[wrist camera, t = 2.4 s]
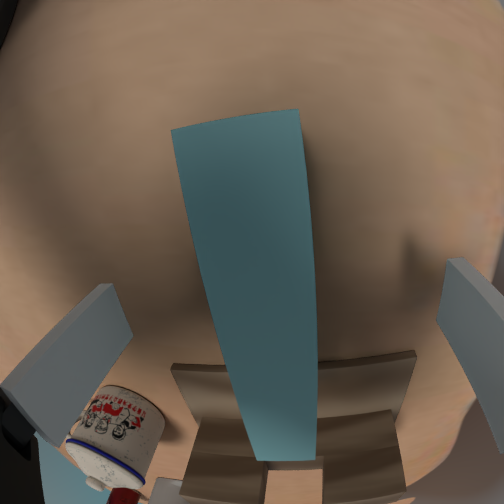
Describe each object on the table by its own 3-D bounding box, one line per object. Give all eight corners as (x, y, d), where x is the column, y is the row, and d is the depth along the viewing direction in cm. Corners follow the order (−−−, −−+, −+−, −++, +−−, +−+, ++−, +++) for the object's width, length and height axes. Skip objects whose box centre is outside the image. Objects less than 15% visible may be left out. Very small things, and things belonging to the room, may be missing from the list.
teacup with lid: (155, 392, 25) (112, 487, 15) (176, 436, 29) (149, 514, 18) (69, 369, 27) (20, 439, 16) (97, 414, 30) (63, 477, 20)
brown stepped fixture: (173, 363, 23) (130, 457, 14) (414, 350, 19) (450, 451, 11) (217, 452, 29) (201, 518, 21) (380, 447, 26) (388, 515, 17)
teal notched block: (234, 128, 15) (170, 130, 7) (293, 121, 14) (298, 108, 6) (270, 356, 21) (256, 460, 13) (312, 353, 20) (315, 459, 12)
